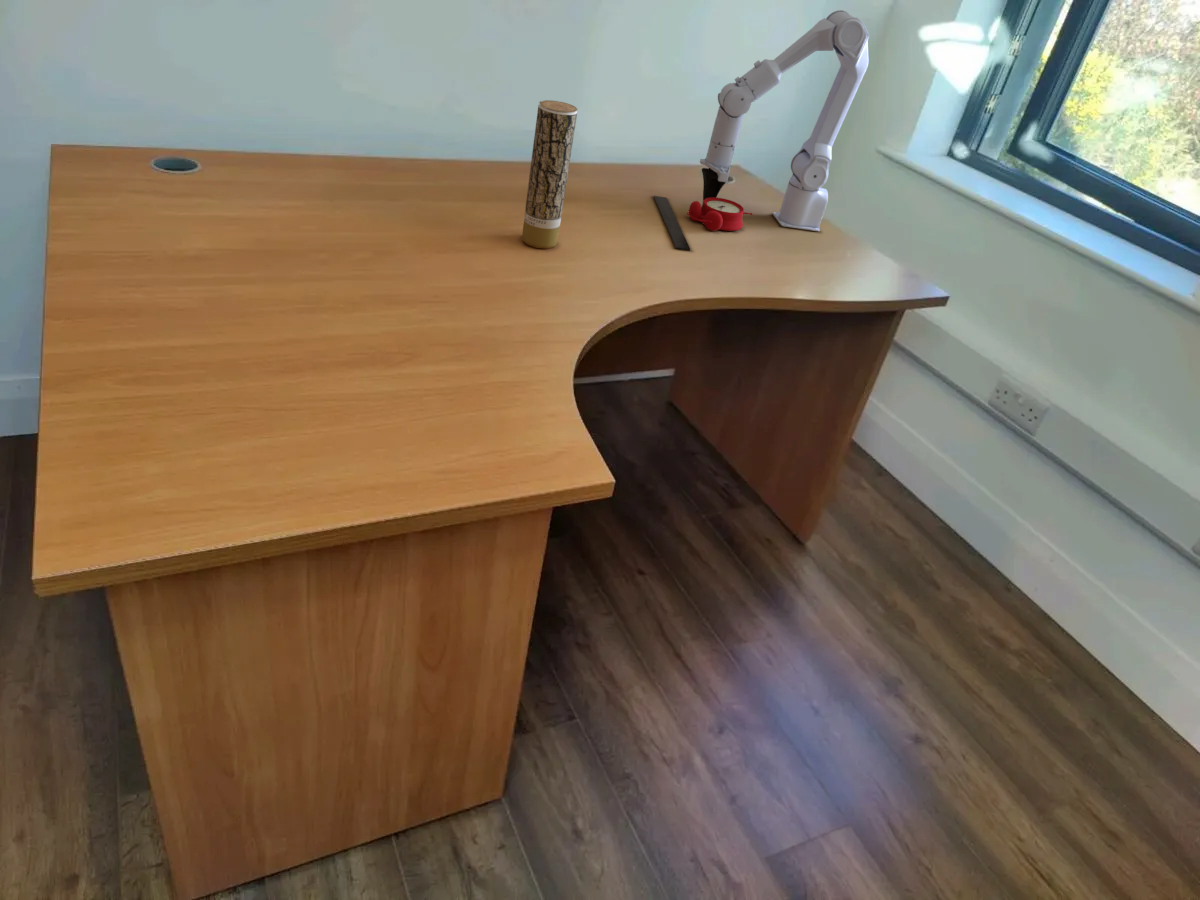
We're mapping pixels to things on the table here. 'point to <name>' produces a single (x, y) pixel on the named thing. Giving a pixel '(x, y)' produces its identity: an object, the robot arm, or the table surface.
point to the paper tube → (548, 173)
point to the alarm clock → (718, 214)
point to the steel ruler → (671, 223)
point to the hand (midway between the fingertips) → (707, 202)
